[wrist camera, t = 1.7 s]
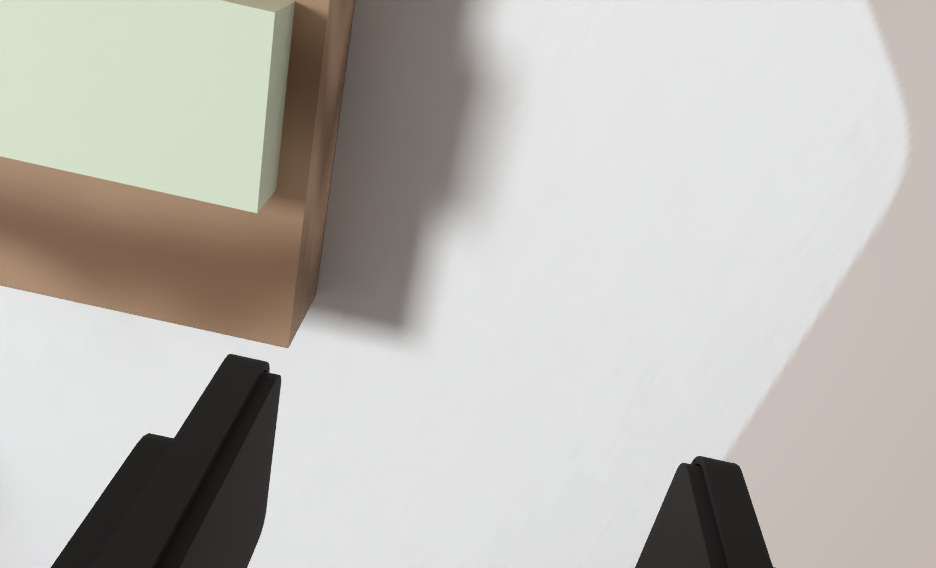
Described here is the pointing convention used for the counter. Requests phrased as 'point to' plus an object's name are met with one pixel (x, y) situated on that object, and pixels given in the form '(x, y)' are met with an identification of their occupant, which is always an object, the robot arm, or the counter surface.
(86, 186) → the board
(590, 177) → the counter surface
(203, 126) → the tile
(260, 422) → the robot arm
